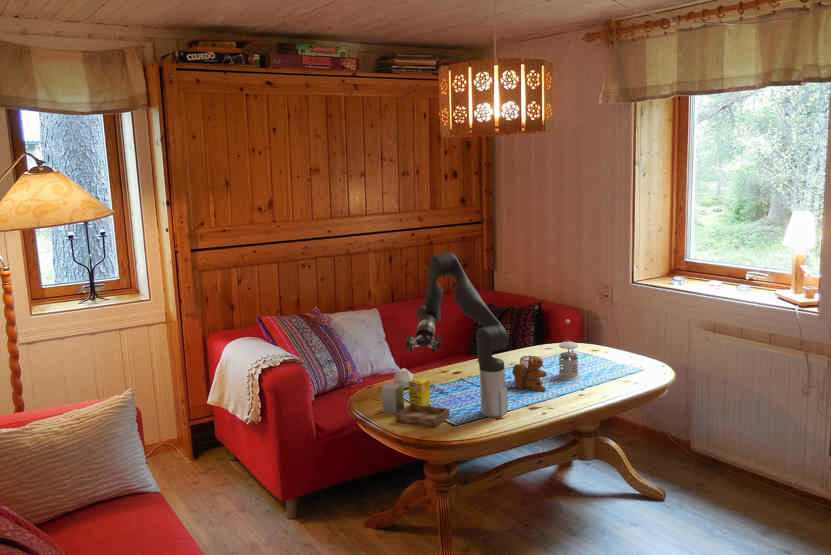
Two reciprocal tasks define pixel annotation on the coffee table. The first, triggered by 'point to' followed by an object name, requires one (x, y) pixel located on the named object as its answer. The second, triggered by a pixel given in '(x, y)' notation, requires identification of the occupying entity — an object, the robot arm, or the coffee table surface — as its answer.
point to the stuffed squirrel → (529, 374)
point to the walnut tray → (423, 415)
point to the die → (403, 377)
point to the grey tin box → (392, 398)
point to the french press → (568, 366)
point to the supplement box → (419, 391)
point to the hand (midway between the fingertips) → (422, 351)
